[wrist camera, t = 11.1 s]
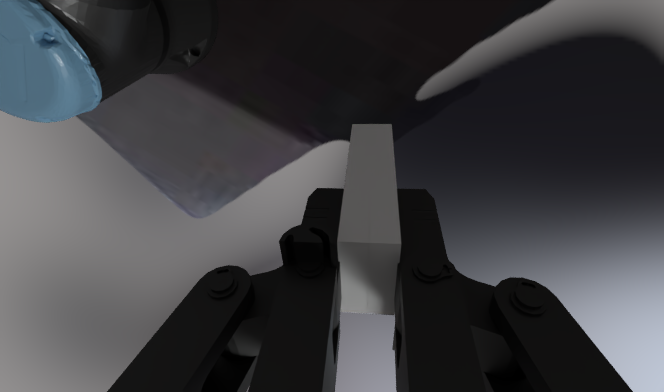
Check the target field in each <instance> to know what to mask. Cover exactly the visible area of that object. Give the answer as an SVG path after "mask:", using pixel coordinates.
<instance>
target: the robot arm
mask: <svg viewBox="0 0 664 392" xmlns="http://www.w3.org/2000/svg"><path fill="white" fill-rule="evenodd" d="M217 29H218V11H217V4H216V0H0V110H1V111H3V112H6V113H8V114H11V115H13V116H16V117H19V118H22V119H26V120H30V121H35V122H46V123H47V122H57V121H63V120H66V119H69V118H71V117H74V116H76V115H79V114H81V113H83V112H88V111H91V110H93V109H94V108H96V107H97V105H98V104H99V103H100V102H102V101H104V100H105V99H107V98H109V97H110V96H112V95H114V94H115V93H117V92H119V91H120V90H122V89H124V88H125V87H127V86H129V85H130V84H132V83H134V82H136V81H137V80H139V79H141V78H142V77H144V76H146V75H147V74H174V73H179V72H182V71H185V70H187V69H189V68H191V67H192V66H194V65H195V64H197V63H198V62H200V61H201V60H202V59H203V58H204V57H205V56H206V55H207V54H208V53H209V51H210V50H211V48H212V46H213V44H214V41H215V38H216V34H217ZM279 243H280V249H281V254H282V260H283V266H281V267H279V268H277V269H275V270H272V271H269V272H265V273H261V274H256V275H252V276H250V275H249V274H248V272H247V271H246V270H245V269H243V268H241V267H238V266H229V265H228V266H223V267H219V268H216V269H214V270H212V271H210V272H208V273H207V274H206V275H204V276H203V277H202V278H201V279H200V280H199V281H198V282H197V284H196V285H195V286H194V287H193V289H192V290H191V291H190V292H189V293H188V295H187V296H186V297H185V298H184V299H183V301H182V302H181V303H180V304H179V306H178V307H177V308H176V309H175V310H174V311H173V313H172V314H171V315H170V316H169V318H168V319H167V320H166V321H165V322H164V324H163V325H162V326H161V327H160V328H159V330H158V331H157V332H156V333H155V334H154V336H153V337H152V338H151V340H150V341H149V342H148V343H147V344H146V345H145V347H144V348H143V349H142V350H141V351H140V353H139V354H138V355H137V356H136V358H135V359H134V360H133V361H132V362H131V364H130V365H129V366H128V367H127V368H126V370H125V371H124V372H123V373H122V374H121V376H120V377H119V378H118V379H117V380H116V382H115V383H114V384H113V385H112V387H111V388H110V389H109V390H108V391H107V392H246V391H247V389H248V387H249V385H250V387H249V390H248V392H335V382H336V372H337V360H338V349H339V338H340V310H341V312H350V313H366V314H384V315H394V314H395V331H394V341H393V350H395V364H396V390H397V392H633V391H632V390H631V389H630V388H629V386H628V385H627V384H626V383H625V381H624V380H623V379H622V378H621V376H620V375H619V374H618V373H617V372H616V370H615V369H614V368H613V366H612V365H611V364H610V363H609V362H608V360H607V359H606V358H605V357H604V355H603V354H602V353H601V352H600V351H599V349H598V348H597V347H596V345H595V344H594V343H593V342H592V340H591V339H590V338H589V337H588V336H587V334H586V333H585V332H584V330H583V329H582V328H581V327H580V325H579V324H578V323H577V322H576V321H575V319H574V318H573V317H572V316H571V314H570V313H569V312H568V311H567V310H566V308H565V307H564V306H563V304H562V303H561V302H560V301H559V300H558V298H557V297H556V296H555V295H554V294H553V293H552V292H551V291H550V290H548V289H547V288H546V287H544V286H542V285H541V284H539V283H537V282H535V281H532V280H529V279H525V278H508V279H505V280H502V281H501V282H500V283H499V284H498V285H497V286H496V287H494V286H491V285H488V284H485V283H481V282H478V281H475V280H472V279H470V278H467V277H466V276H464V275H462V274H461V273H459V272H458V271H457V270H456V269H455V267H454V265H453V264H452V263H451V262H450V261H449V260H448V257H447V254H446V249H445V245H444V241H443V237H442V232H441V227H440V223H439V218H438V214H437V209H436V205H435V200H434V198H433V197H432V196H431V195H430V194H429V193H428V192H427V190H426V189H397V186H396V173H395V161H394V149H393V137H392V125H391V124H352V131H351V139H350V146H349V154H348V162H347V170H346V178H345V185H344V189H336V188H335V189H334V188H317V189H316V190H315V191H314V192H313V193H312V194H311V195H310V196H309V198H308V201H307V205H306V210H305V212H304V216H303V220H302V224H301V225H298V226H296V227H293V228H291V229H289V230H288V231H287V232H286V233H284V234H283V236H282V237H281V239H280V241H279Z"/></svg>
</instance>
